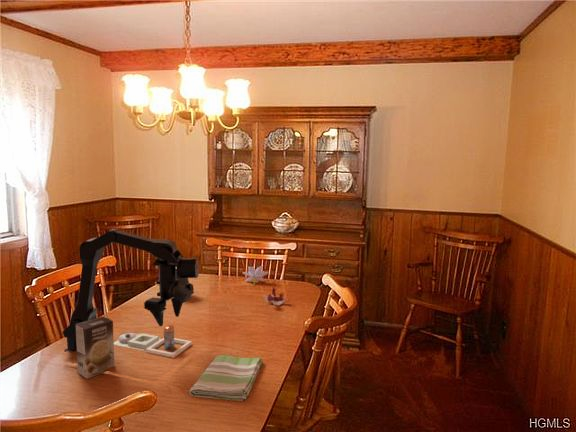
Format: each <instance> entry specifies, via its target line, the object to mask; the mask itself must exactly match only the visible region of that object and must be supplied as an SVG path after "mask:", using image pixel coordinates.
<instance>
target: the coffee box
mask: <svg viewBox="0 0 576 432" xmlns="http://www.w3.org/2000/svg"><path fill="white" fill-rule="evenodd" d="M114 342H115V341H114V321H113V320H112V319H110V318H108V317H106V316H100V317H97V318H96V319H92V320H88V321H84V322H81V323H77V324H76V343H77V351H76V360H77V361H76V364H77V365H76V366H77V373H78V374H79V375H81V376H82V377H84V378H85V379H86V380H87V379H90V378H93V377H95V376H98V375H101V374H103V373H106V372H109V370H108V369H110V368H112V367H115V345H114Z"/></svg>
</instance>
